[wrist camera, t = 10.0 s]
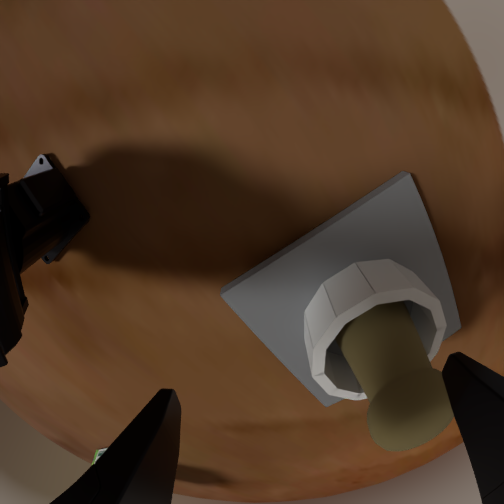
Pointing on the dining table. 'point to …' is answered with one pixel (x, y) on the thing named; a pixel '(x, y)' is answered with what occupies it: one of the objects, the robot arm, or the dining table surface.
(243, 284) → the cup stand
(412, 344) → the cork
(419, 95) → the dining table surface
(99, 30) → the dining table surface
